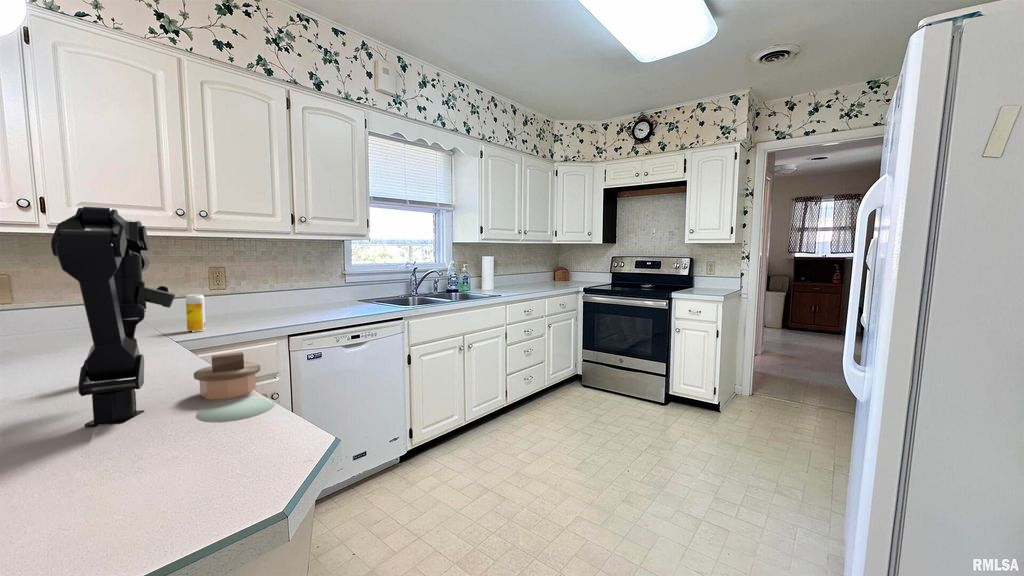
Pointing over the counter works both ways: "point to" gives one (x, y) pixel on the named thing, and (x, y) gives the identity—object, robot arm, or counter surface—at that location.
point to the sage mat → (235, 409)
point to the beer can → (195, 312)
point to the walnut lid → (227, 368)
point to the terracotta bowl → (227, 388)
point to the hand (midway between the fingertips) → (129, 345)
